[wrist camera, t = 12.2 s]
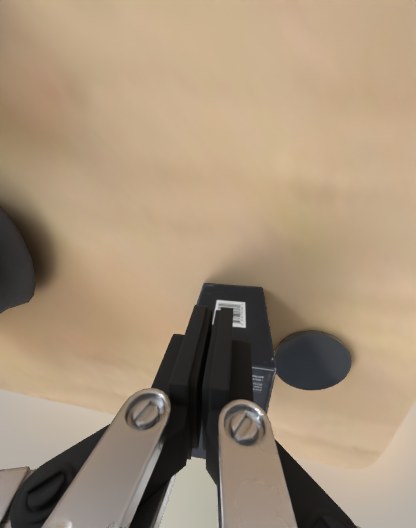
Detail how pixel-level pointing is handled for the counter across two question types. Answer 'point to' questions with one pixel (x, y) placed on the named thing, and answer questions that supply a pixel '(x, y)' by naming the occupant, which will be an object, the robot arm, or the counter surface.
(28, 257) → the casserole
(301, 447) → the counter surface
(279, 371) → the slate coaster
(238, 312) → the small box
